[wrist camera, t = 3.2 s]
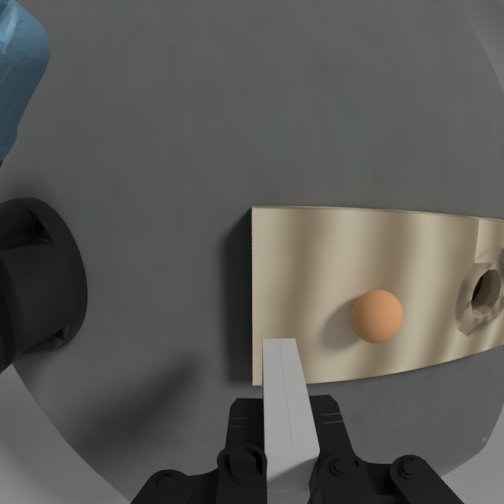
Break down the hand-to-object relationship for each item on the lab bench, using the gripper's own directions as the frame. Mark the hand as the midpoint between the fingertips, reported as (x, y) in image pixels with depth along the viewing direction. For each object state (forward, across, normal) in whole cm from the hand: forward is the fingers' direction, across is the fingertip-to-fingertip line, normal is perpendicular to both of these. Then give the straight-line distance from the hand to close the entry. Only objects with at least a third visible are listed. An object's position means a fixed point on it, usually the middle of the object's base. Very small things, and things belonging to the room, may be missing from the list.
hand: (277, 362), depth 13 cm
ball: (+4, +7, 0) cm, 8 cm away
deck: (+9, +13, 0) cm, 15 cm away
